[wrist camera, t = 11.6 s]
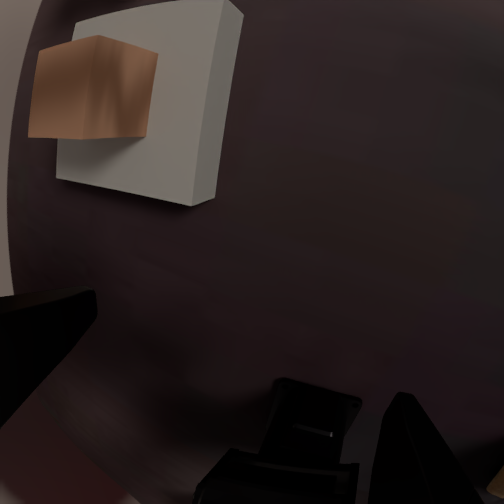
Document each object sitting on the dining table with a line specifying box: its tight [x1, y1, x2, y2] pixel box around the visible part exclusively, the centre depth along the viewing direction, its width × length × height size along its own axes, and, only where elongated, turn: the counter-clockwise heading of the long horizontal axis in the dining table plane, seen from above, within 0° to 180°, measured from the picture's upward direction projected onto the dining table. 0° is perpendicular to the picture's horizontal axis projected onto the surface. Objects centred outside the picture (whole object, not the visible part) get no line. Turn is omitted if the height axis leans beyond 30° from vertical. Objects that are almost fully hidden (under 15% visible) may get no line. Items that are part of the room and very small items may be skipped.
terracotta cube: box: [28, 35, 159, 140], centre depth 14 cm, size 5×5×5 cm
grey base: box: [56, 0, 244, 206], centre depth 18 cm, size 12×12×3 cm
